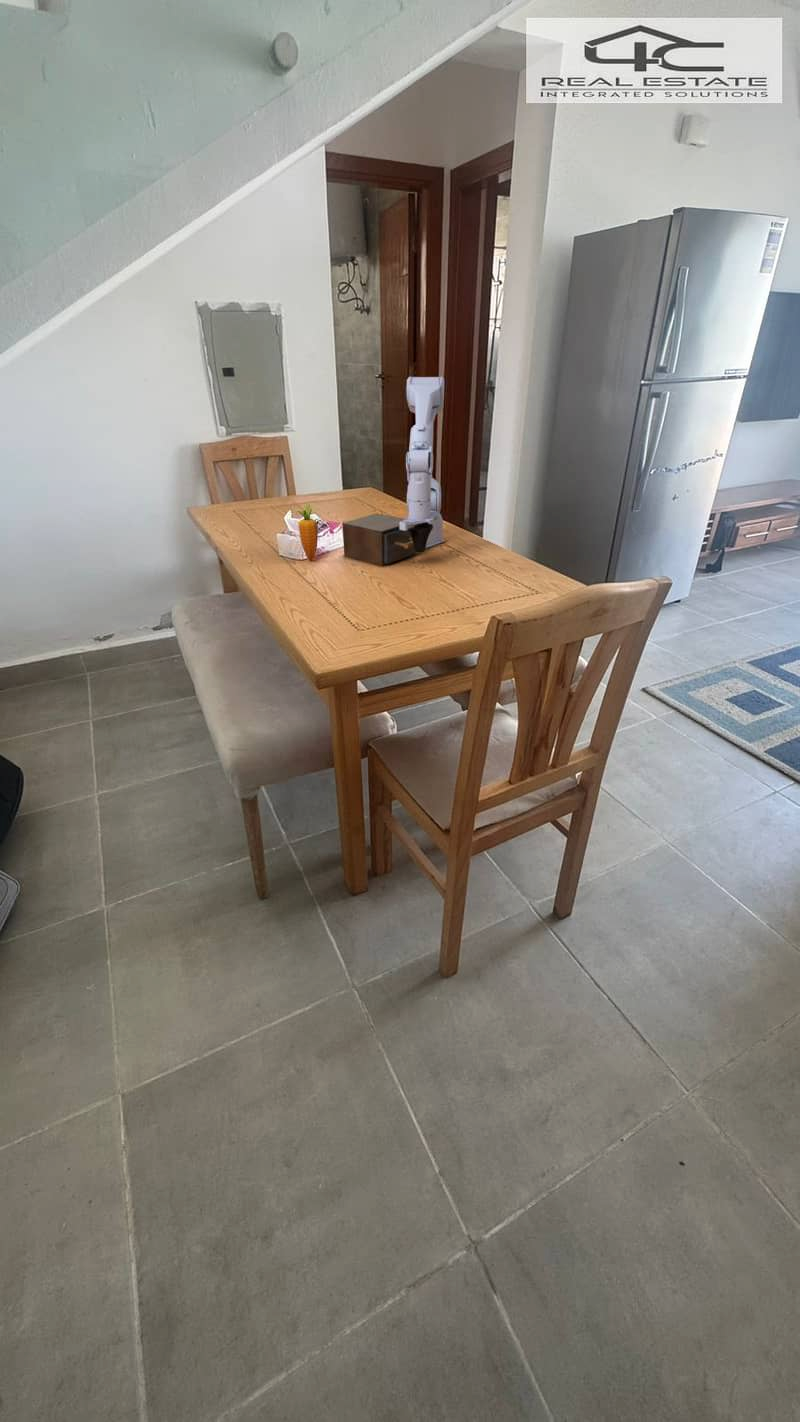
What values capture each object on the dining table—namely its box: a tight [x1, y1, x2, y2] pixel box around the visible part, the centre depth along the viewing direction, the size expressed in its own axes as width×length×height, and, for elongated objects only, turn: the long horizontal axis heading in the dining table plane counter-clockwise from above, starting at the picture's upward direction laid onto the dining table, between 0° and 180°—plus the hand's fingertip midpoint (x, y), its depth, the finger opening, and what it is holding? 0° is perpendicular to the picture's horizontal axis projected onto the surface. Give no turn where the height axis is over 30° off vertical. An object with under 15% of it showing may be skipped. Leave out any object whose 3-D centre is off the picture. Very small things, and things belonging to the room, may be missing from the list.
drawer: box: [383, 528, 417, 564], centre depth 168 cm, size 18×13×8 cm
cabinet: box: [342, 512, 416, 567], centre depth 170 cm, size 14×14×9 cm
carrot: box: [297, 503, 319, 562], centre depth 164 cm, size 5×5×15 cm
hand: (419, 552), depth 163 cm, fingers closed, pressing on drawer
